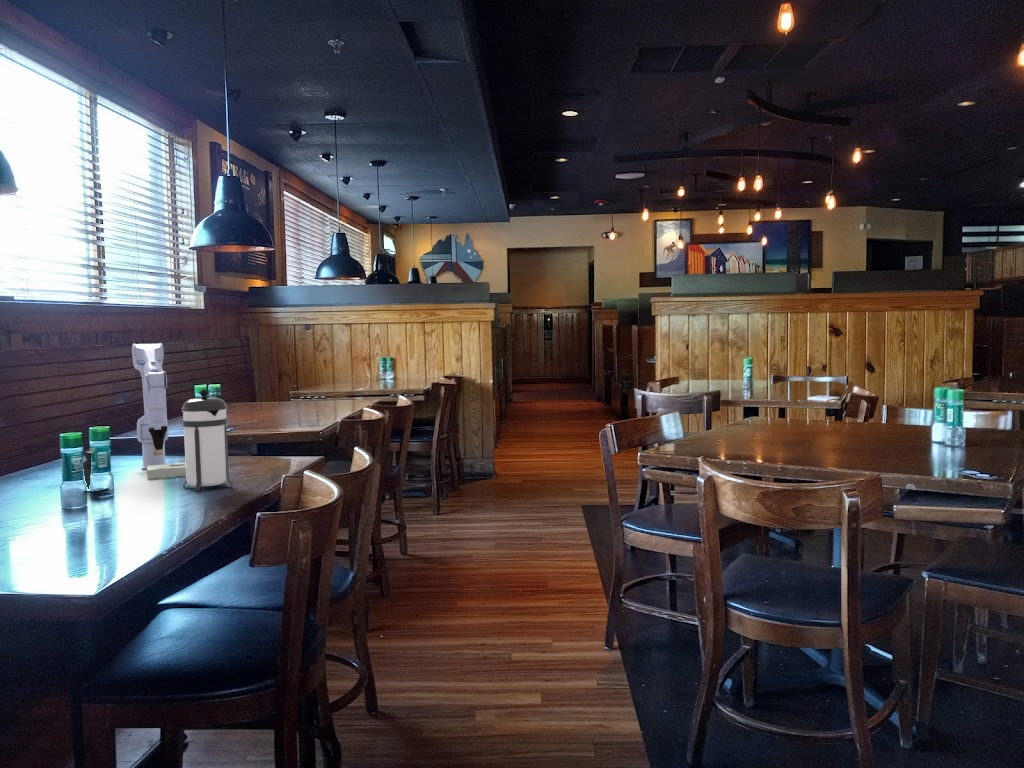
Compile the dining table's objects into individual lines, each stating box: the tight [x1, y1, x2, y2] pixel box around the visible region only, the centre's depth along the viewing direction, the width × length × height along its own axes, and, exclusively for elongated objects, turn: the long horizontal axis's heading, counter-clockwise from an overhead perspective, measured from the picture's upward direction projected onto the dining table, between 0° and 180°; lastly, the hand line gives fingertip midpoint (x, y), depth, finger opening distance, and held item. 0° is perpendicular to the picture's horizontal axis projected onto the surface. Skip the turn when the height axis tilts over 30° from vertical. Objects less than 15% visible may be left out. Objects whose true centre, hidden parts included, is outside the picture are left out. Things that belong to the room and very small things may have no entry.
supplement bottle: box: [82, 449, 92, 489], centre depth 229 cm, size 7×7×12 cm
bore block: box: [146, 462, 186, 480], centre depth 253 cm, size 10×18×3 cm, turn 115°
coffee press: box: [181, 389, 234, 493], centre depth 229 cm, size 17×16×30 cm
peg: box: [152, 439, 163, 456], centre depth 251 cm, size 3×3×6 cm
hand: (159, 448), depth 251 cm, fingers closed on peg, 3 cm apart
